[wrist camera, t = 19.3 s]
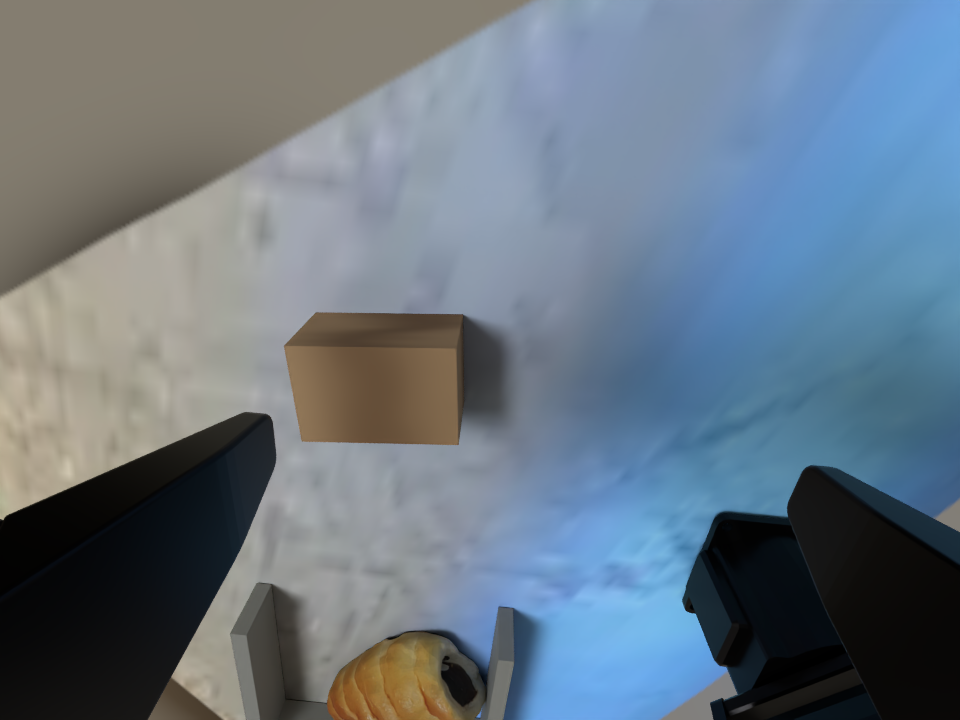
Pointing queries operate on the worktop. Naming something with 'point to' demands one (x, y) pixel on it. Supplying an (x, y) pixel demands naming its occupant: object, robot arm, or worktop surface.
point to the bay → (278, 716)
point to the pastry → (408, 682)
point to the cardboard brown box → (378, 378)
